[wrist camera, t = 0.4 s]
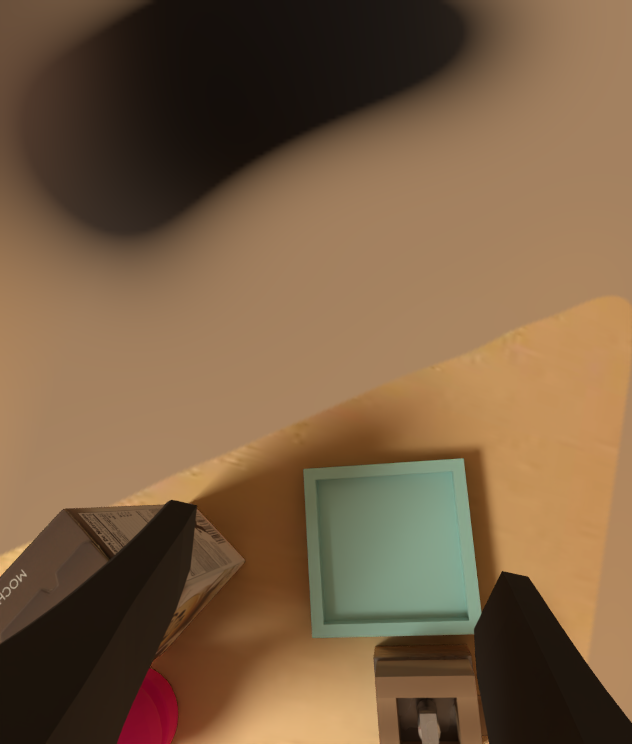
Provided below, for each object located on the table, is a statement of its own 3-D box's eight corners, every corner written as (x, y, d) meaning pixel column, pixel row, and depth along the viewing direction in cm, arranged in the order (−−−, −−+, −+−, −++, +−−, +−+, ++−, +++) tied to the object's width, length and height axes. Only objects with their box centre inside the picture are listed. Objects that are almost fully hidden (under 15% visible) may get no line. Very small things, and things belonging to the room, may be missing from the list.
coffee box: (163, 658, 39) (3, 773, 23) (105, 590, 40) (-81, 656, 25) (250, 560, 39) (151, 609, 24) (190, 498, 41) (60, 504, 25)
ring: (500, 762, 32) (510, 789, 29) (384, 761, 33) (383, 788, 30) (488, 658, 33) (496, 675, 30) (376, 660, 34) (374, 677, 31)
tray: (480, 627, 36) (483, 634, 34) (315, 631, 38) (312, 638, 36) (460, 459, 38) (463, 458, 37) (307, 469, 40) (303, 468, 38)
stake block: (477, 746, 35) (493, 799, 29) (382, 746, 35) (379, 798, 30) (466, 644, 36) (479, 675, 30) (375, 646, 37) (370, 676, 31)
